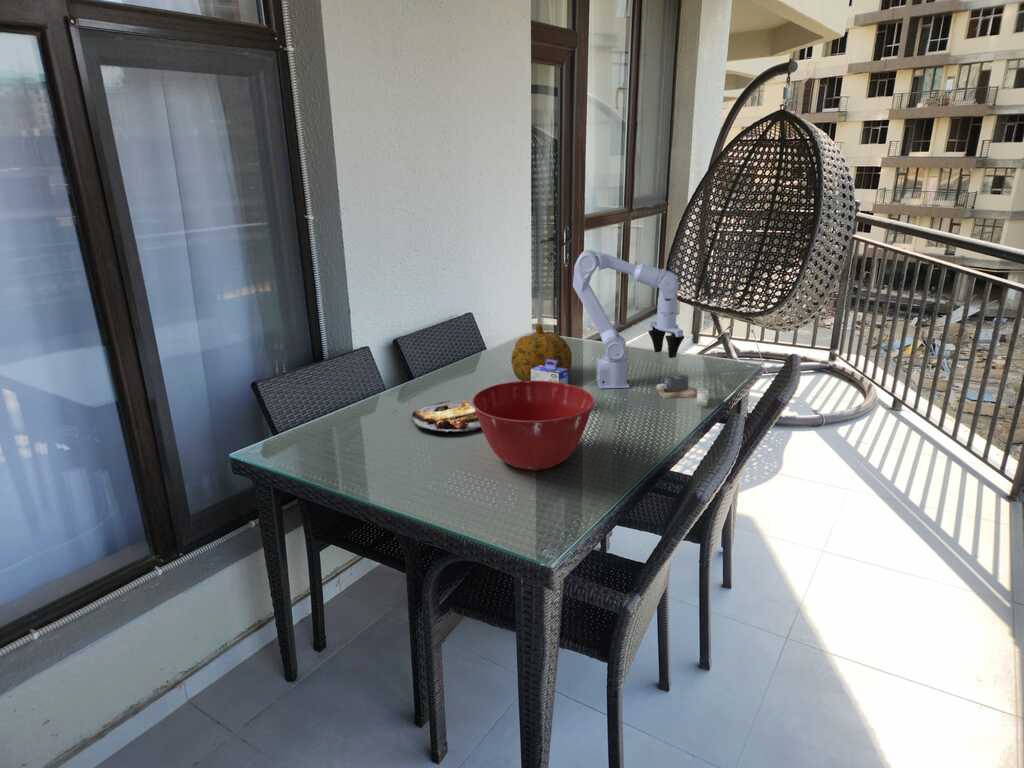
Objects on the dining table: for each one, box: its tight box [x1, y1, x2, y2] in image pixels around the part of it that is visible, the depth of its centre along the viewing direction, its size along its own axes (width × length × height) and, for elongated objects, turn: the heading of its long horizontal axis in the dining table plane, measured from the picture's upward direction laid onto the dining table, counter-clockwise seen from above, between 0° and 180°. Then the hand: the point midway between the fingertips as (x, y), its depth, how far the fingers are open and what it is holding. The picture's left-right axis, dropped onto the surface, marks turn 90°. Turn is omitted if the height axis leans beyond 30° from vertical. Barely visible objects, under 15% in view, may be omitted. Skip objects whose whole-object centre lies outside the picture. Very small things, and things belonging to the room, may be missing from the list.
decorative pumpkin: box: [510, 323, 573, 381], centre depth 212 cm, size 20×21×20 cm
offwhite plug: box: [695, 387, 709, 408], centre depth 188 cm, size 9×3×4 cm, turn 167°
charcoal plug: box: [656, 374, 690, 392], centre depth 197 cm, size 10×3×4 cm, turn 112°
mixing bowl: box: [471, 380, 595, 471], centre depth 152 cm, size 28×28×15 cm
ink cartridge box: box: [531, 359, 569, 384], centre depth 186 cm, size 10×6×14 cm, turn 55°
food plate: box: [410, 400, 482, 433], centre depth 180 cm, size 25×23×4 cm
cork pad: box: [655, 384, 697, 399], centre depth 198 cm, size 10×10×1 cm
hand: (665, 354), depth 202 cm, fingers open, 7 cm apart
